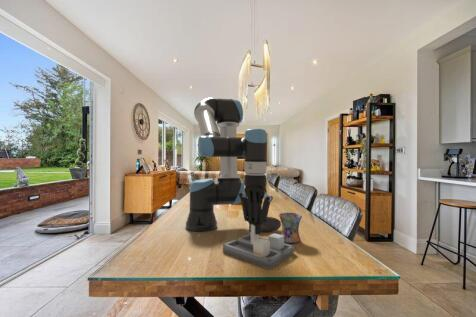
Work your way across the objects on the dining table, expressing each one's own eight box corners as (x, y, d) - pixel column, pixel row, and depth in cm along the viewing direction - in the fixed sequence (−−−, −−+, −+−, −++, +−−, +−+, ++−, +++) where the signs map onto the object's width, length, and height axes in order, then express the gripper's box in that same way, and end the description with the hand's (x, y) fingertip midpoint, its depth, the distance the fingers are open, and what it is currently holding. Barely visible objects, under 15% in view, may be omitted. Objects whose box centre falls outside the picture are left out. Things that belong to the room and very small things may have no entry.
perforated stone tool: (279, 228, 113) (279, 214, 113) (283, 232, 108) (283, 217, 108) (248, 230, 111) (249, 215, 111) (251, 233, 106) (251, 218, 106)
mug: (303, 245, 92) (303, 218, 92) (279, 244, 92) (280, 217, 92) (298, 235, 104) (298, 211, 104) (277, 234, 104) (277, 210, 104)
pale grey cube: (268, 248, 84) (268, 236, 84) (274, 245, 87) (274, 233, 87) (278, 251, 81) (278, 238, 81) (283, 247, 84) (283, 235, 84)
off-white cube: (253, 254, 78) (253, 241, 78) (259, 250, 81) (260, 238, 81) (263, 257, 76) (263, 244, 76) (269, 254, 79) (269, 241, 79)
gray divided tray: (222, 251, 84) (222, 244, 84) (249, 240, 97) (249, 233, 97) (269, 269, 72) (269, 260, 71) (293, 253, 84) (294, 245, 84)
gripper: (233, 173, 81) (233, 241, 81) (265, 175, 73) (264, 251, 73) (247, 172, 87) (246, 236, 87) (277, 174, 79) (276, 244, 79)
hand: (254, 242), depth 80 cm, fingers closed
